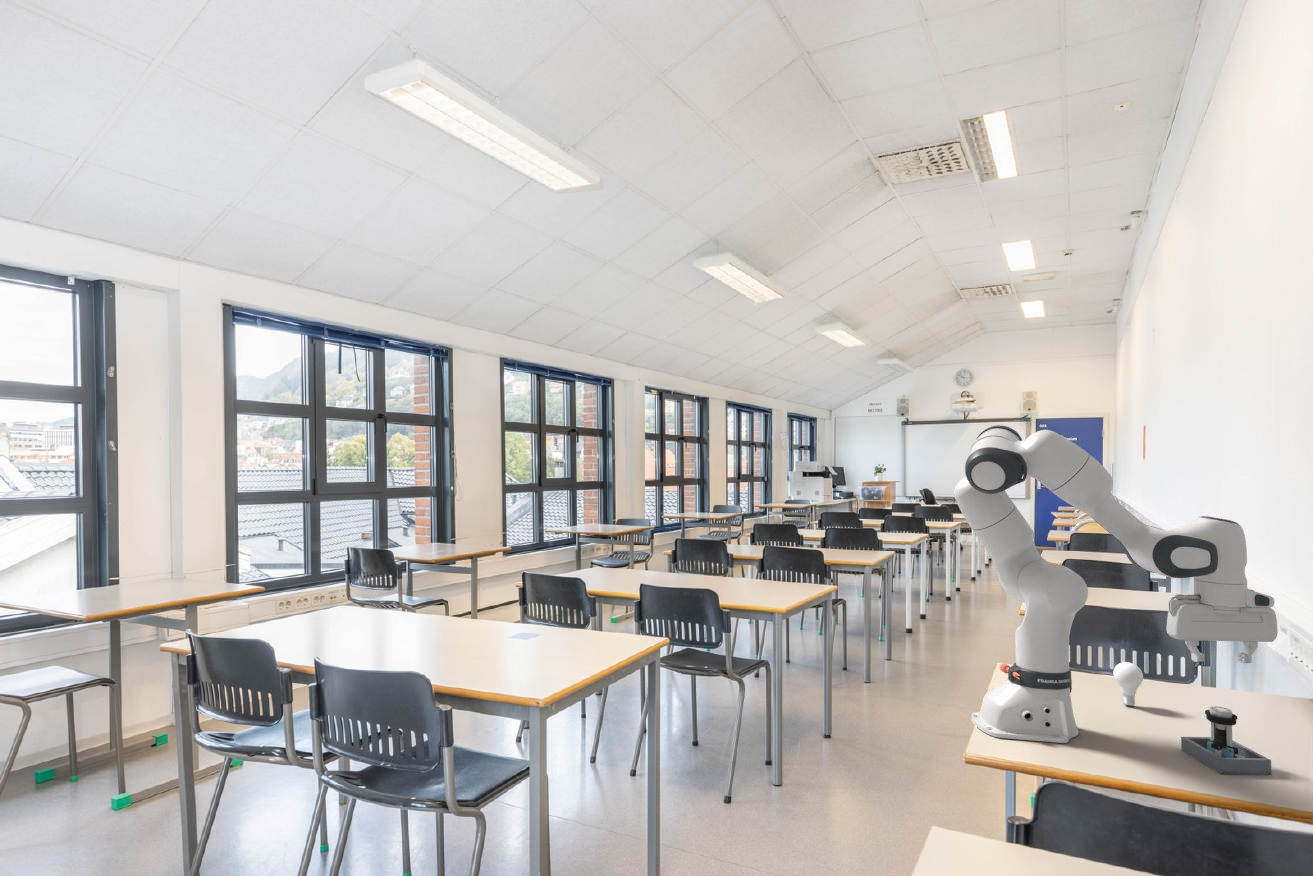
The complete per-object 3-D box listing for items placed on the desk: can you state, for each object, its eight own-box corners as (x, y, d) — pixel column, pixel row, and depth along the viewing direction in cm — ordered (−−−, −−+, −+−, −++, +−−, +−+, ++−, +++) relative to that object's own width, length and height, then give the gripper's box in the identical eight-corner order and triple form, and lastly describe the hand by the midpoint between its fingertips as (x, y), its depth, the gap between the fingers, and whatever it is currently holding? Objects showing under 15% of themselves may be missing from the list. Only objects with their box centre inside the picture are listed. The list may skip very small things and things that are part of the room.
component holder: (1221, 774, 142) (1220, 759, 142) (1181, 750, 154) (1181, 736, 154) (1271, 775, 142) (1270, 760, 142) (1227, 751, 153) (1227, 737, 153)
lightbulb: (1129, 711, 178) (1128, 666, 178) (1108, 703, 184) (1107, 660, 184) (1150, 709, 179) (1149, 665, 180) (1128, 701, 185) (1127, 658, 186)
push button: (1251, 763, 146) (1250, 713, 146) (1236, 767, 144) (1235, 717, 144) (1215, 750, 152) (1214, 703, 152) (1200, 755, 150) (1199, 707, 150)
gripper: (1179, 597, 146) (1180, 665, 146) (1282, 598, 145) (1284, 667, 145) (1158, 591, 152) (1159, 656, 152) (1258, 593, 151) (1259, 658, 151)
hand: (1221, 662), depth 148 cm, fingers open, 8 cm apart
